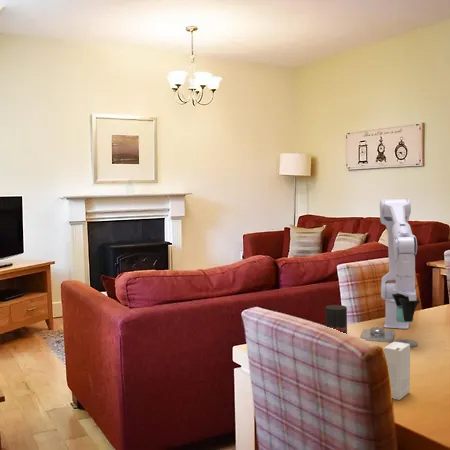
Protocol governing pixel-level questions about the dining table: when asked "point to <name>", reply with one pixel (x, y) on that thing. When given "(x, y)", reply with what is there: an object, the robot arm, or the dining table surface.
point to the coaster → (408, 342)
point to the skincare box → (398, 368)
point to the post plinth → (377, 334)
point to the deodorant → (337, 317)
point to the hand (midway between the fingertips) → (405, 319)
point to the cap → (400, 315)
